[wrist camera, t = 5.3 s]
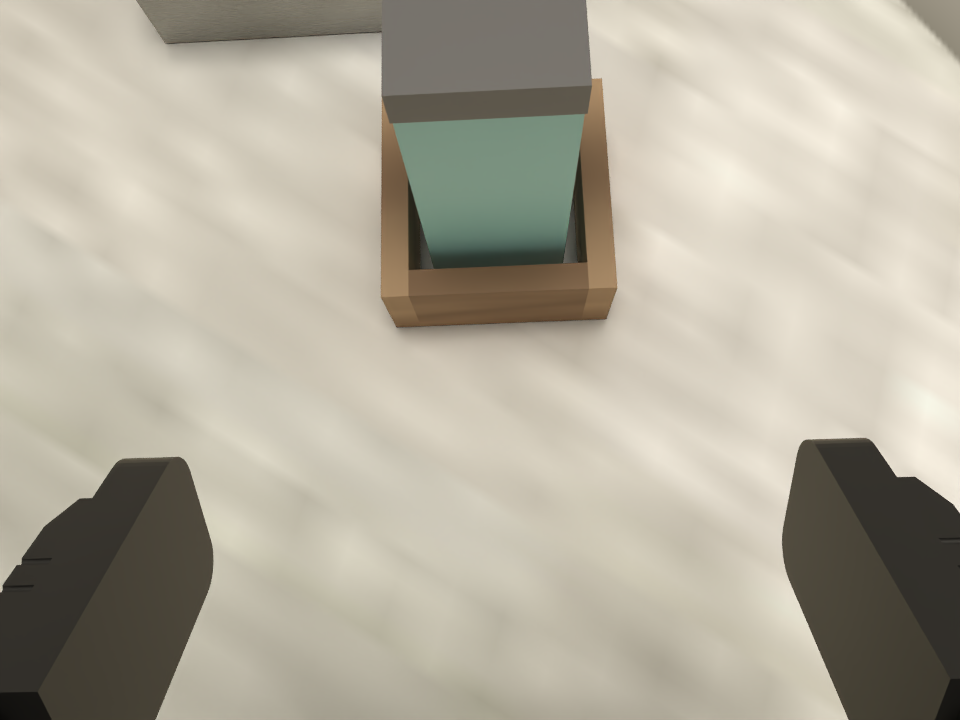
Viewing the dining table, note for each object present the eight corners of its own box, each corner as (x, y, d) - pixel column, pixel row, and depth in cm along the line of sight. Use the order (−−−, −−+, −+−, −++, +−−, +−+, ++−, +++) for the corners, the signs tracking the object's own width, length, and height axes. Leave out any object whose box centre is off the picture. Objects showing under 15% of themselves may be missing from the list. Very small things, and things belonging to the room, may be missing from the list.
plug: (562, 281, 26) (592, 85, 15) (437, 286, 26) (381, 96, 16) (555, 168, 27) (579, -90, 16) (435, 173, 27) (382, -78, 17)
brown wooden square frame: (606, 318, 26) (617, 287, 23) (396, 327, 26) (380, 297, 23) (593, 130, 27) (601, 78, 24) (396, 139, 28) (381, 89, 25)
